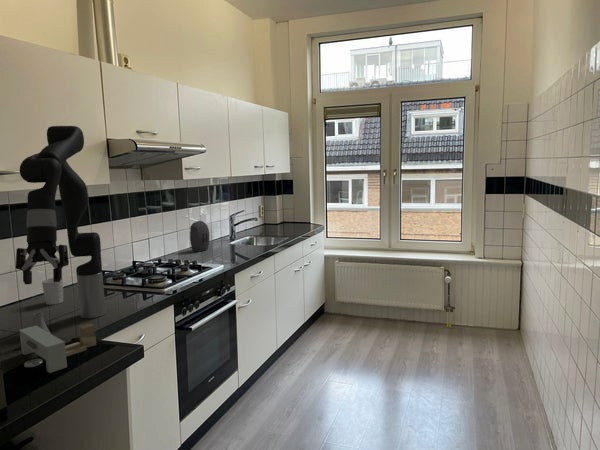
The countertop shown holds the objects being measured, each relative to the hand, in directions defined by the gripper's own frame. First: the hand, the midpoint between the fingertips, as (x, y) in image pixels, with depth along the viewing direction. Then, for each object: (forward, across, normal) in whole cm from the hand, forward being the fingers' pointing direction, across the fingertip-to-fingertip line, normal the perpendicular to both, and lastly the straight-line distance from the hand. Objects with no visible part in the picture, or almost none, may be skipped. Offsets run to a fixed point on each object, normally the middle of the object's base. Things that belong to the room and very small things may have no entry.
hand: (42, 283), depth 131 cm
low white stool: (+24, +10, -15) cm, 30 cm away
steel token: (+24, +12, -13) cm, 30 cm away
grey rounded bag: (-18, +5, -174) cm, 175 cm away
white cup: (+7, +41, -70) cm, 81 cm away
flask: (+19, +20, -29) cm, 41 cm away
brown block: (+22, +4, -23) cm, 32 cm away
